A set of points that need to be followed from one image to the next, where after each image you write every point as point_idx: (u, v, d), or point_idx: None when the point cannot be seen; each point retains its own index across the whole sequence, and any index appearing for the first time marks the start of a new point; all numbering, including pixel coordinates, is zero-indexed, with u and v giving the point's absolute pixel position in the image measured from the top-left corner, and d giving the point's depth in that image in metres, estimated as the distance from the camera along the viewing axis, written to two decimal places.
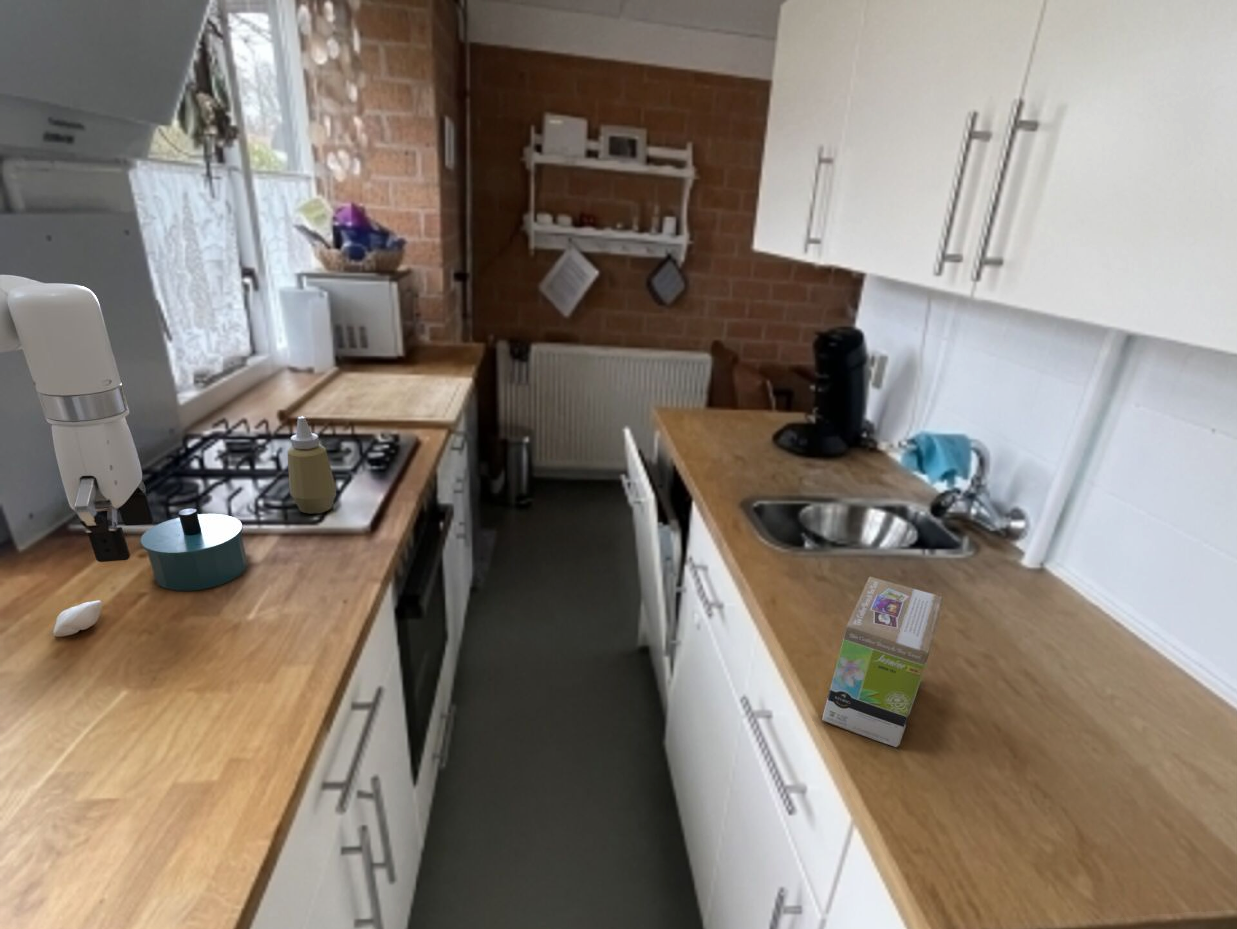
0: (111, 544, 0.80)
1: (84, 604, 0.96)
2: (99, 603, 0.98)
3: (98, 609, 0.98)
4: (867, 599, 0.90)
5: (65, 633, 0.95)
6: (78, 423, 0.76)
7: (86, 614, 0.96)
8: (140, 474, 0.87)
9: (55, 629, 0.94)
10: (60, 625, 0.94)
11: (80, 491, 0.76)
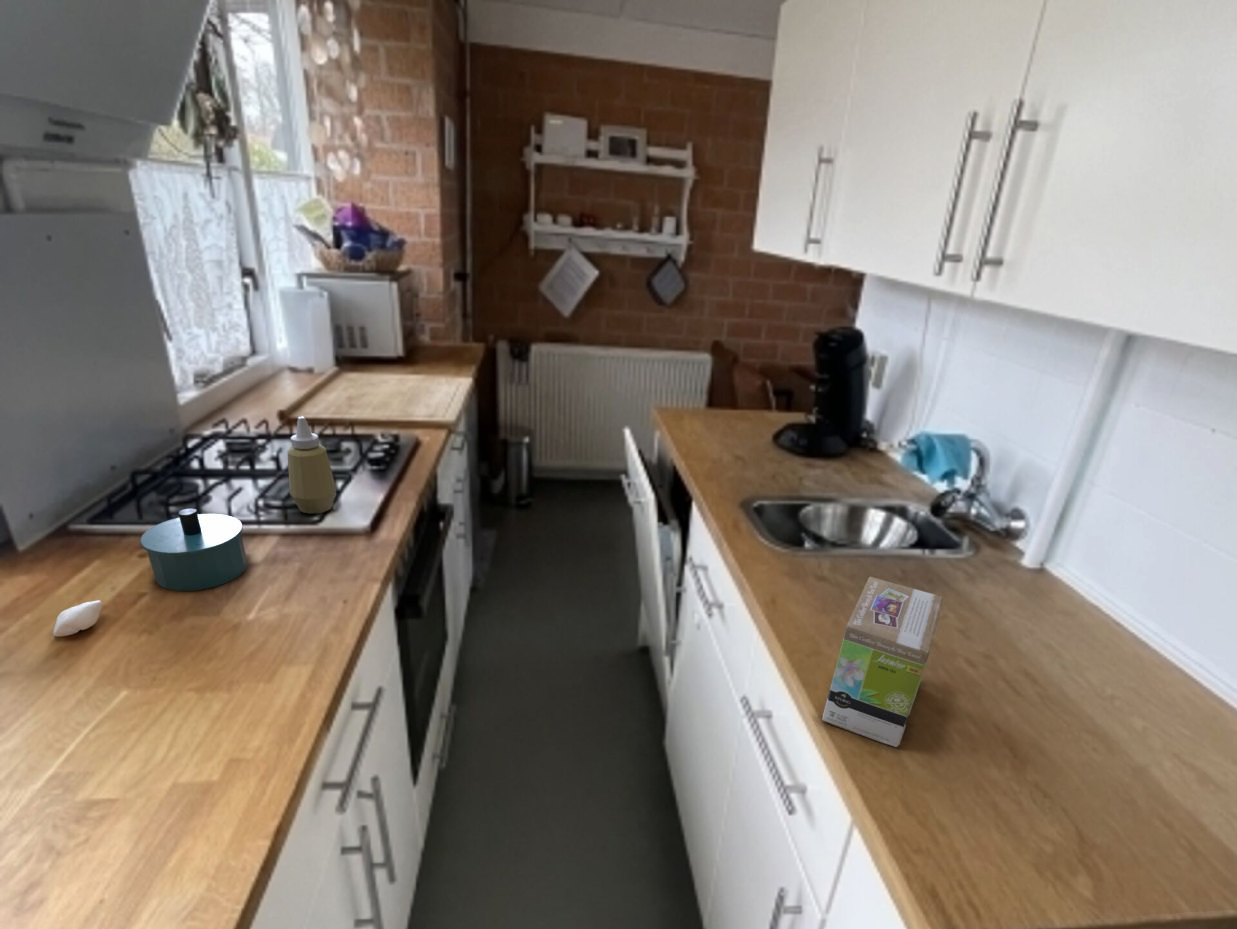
0: None
1: (84, 604, 0.96)
2: (99, 603, 0.98)
3: (98, 609, 0.98)
4: (867, 599, 0.90)
5: (65, 633, 0.95)
6: None
7: (86, 614, 0.96)
8: None
9: (55, 629, 0.94)
10: (60, 625, 0.94)
11: None
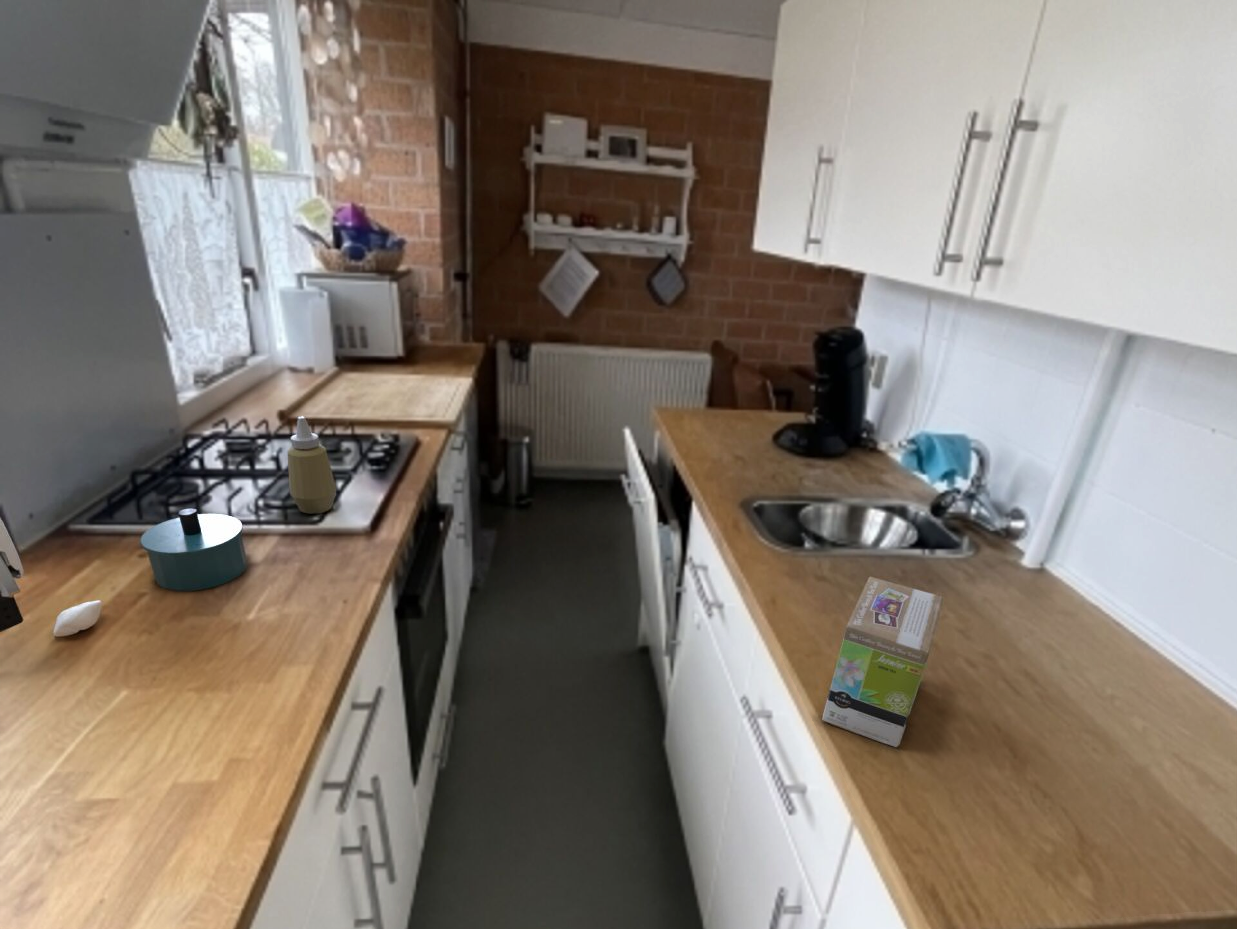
0: (11, 610, 0.88)
1: (84, 604, 0.96)
2: (99, 603, 0.98)
3: (98, 609, 0.98)
4: (867, 599, 0.90)
5: (65, 633, 0.95)
6: None
7: (86, 614, 0.96)
8: None
9: (55, 629, 0.94)
10: (60, 625, 0.94)
11: (1, 577, 0.83)
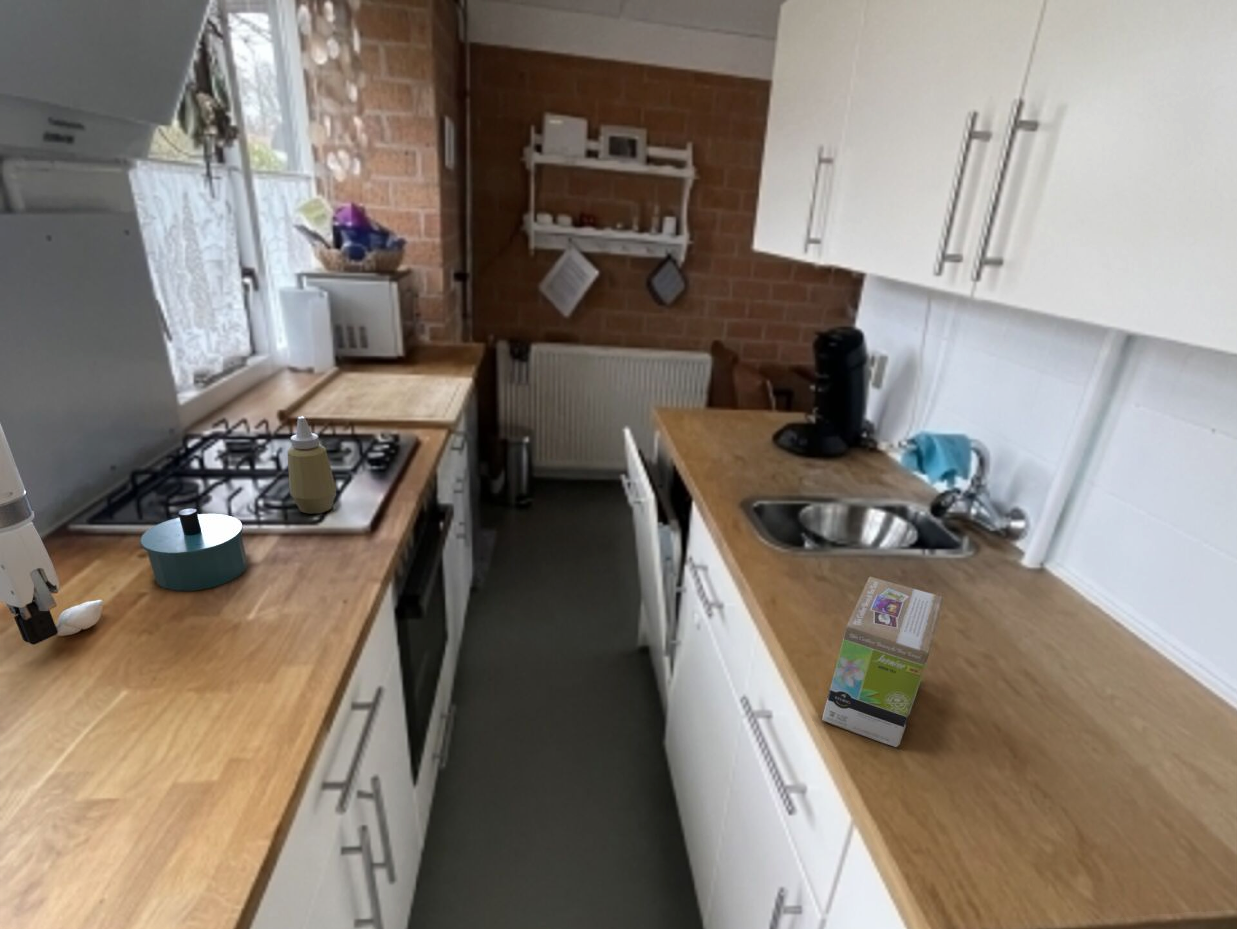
0: (47, 623, 0.92)
1: (86, 603, 0.97)
2: (100, 602, 0.98)
3: (99, 608, 0.98)
4: (867, 599, 0.90)
5: (67, 632, 0.95)
6: (15, 526, 0.85)
7: (88, 613, 0.96)
8: None
9: (57, 628, 0.94)
10: (62, 624, 0.94)
11: (39, 593, 0.88)
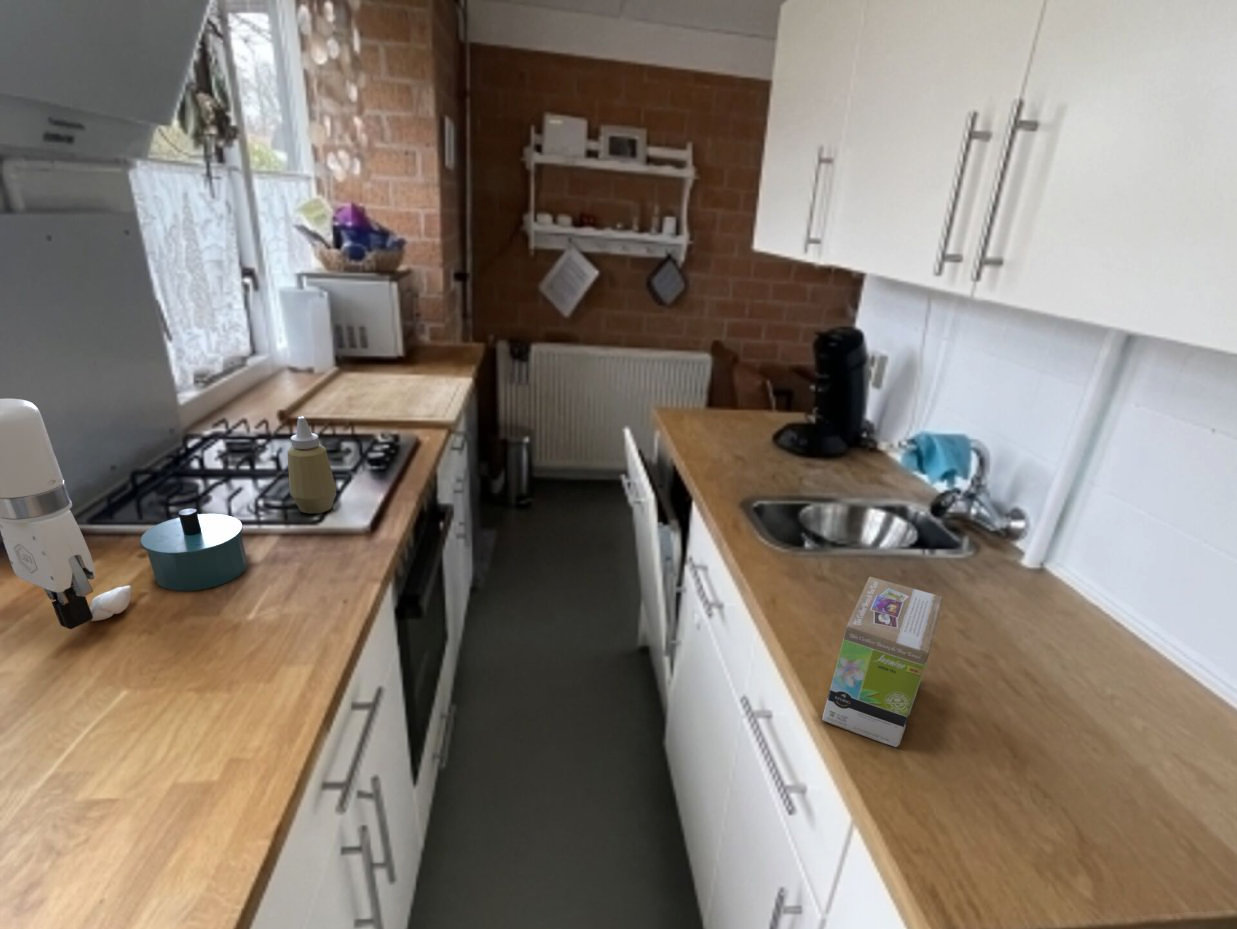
0: (83, 608, 0.96)
1: (117, 589, 1.00)
2: (130, 588, 1.02)
3: (130, 594, 1.02)
4: (867, 599, 0.90)
5: (101, 617, 0.99)
6: (54, 514, 0.88)
7: (121, 598, 1.00)
8: None
9: (91, 613, 0.98)
10: (97, 609, 0.98)
11: (77, 578, 0.91)
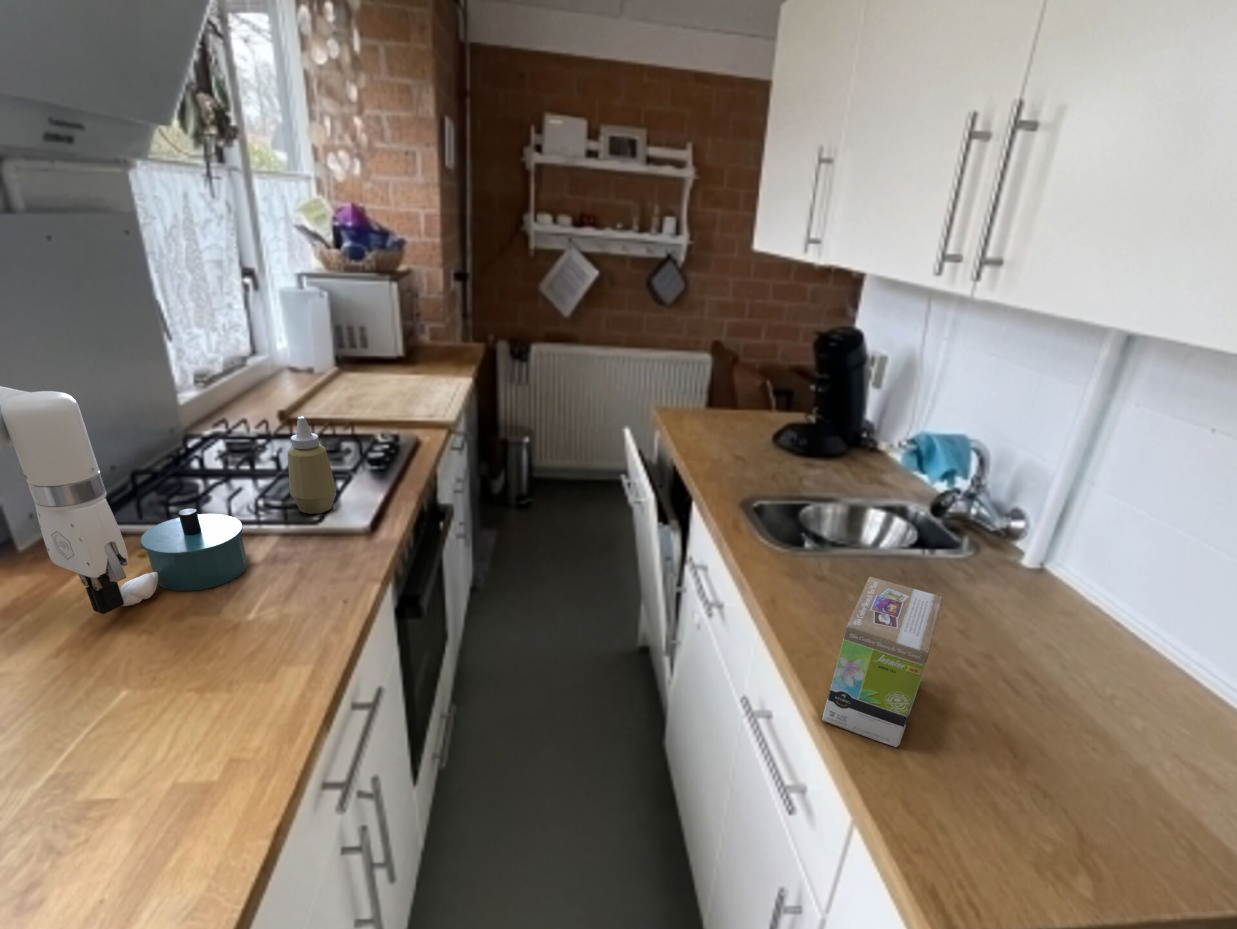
0: (115, 594, 1.00)
1: (146, 575, 1.04)
2: (157, 574, 1.06)
3: (157, 579, 1.06)
4: (867, 599, 0.90)
5: (131, 602, 1.03)
6: (91, 502, 0.92)
7: (150, 583, 1.04)
8: None
9: None
10: (128, 594, 1.02)
11: (112, 564, 0.95)
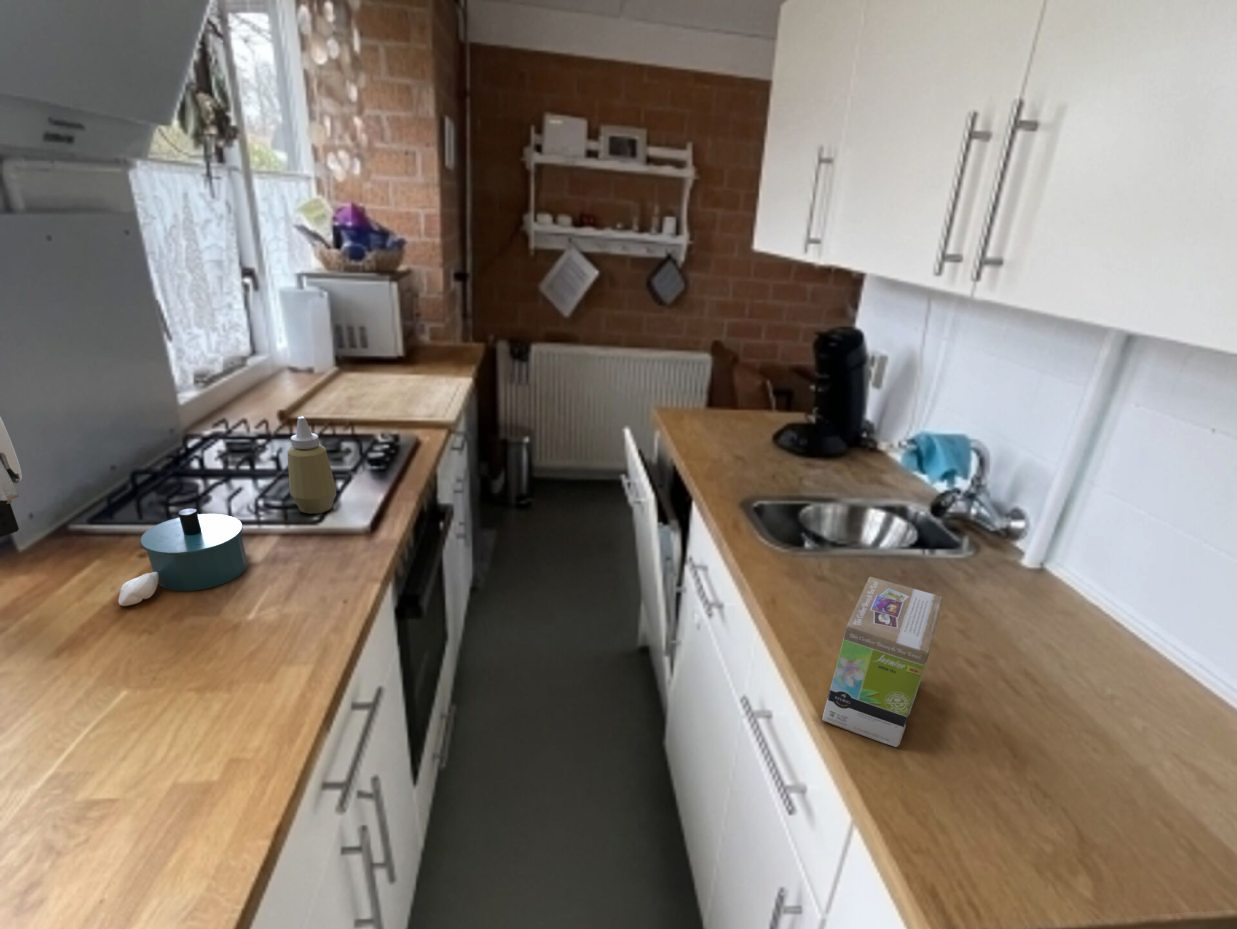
0: (7, 517, 0.87)
1: (146, 575, 1.04)
2: (157, 574, 1.06)
3: (157, 579, 1.06)
4: (867, 599, 0.90)
5: (131, 602, 1.03)
6: None
7: (150, 583, 1.04)
8: None
9: (123, 598, 1.02)
10: (128, 594, 1.02)
11: (0, 479, 0.82)
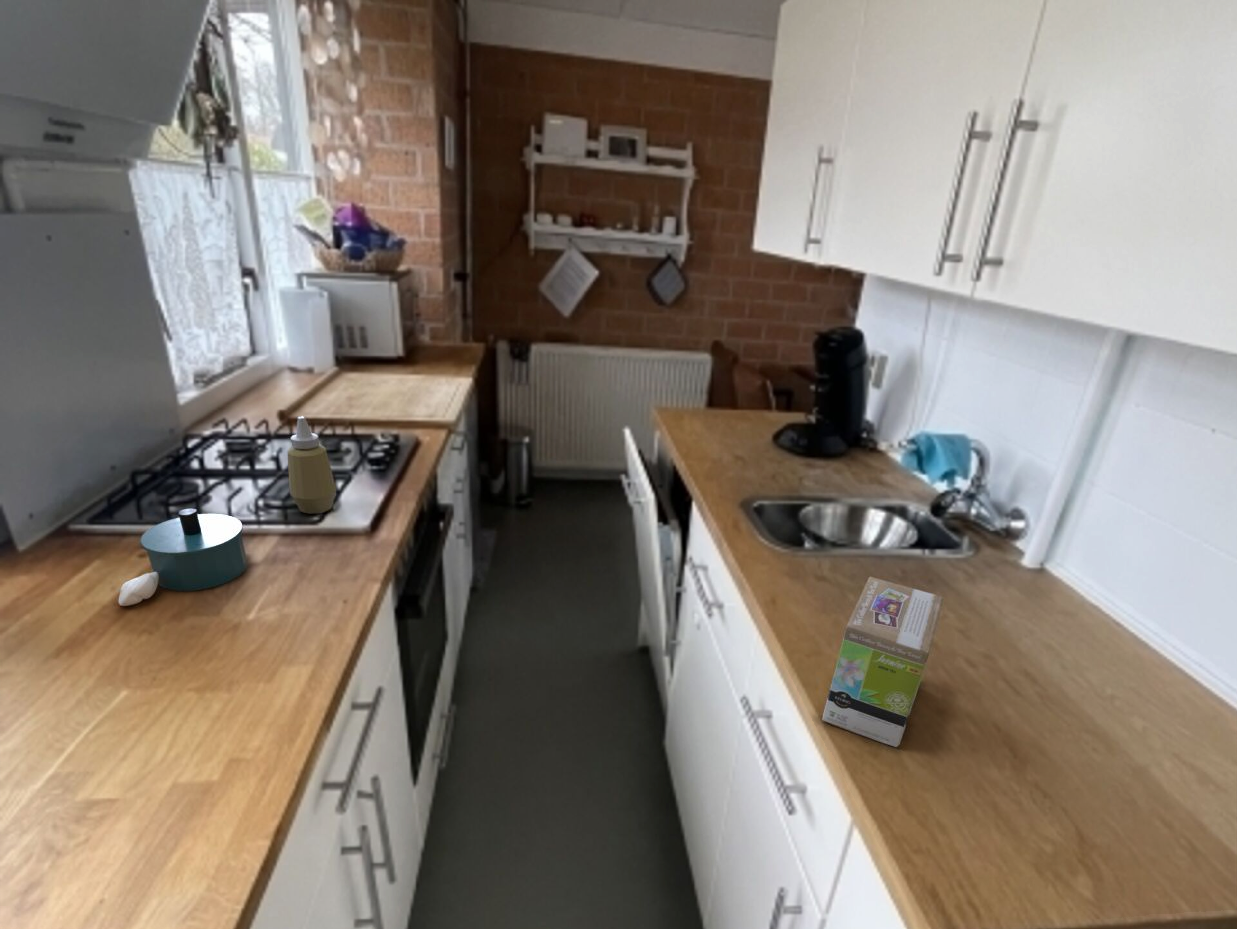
0: None
1: (146, 575, 1.04)
2: (157, 574, 1.06)
3: (157, 579, 1.06)
4: (867, 599, 0.90)
5: (131, 602, 1.03)
6: None
7: (150, 583, 1.04)
8: None
9: (123, 598, 1.02)
10: (128, 594, 1.02)
11: None
